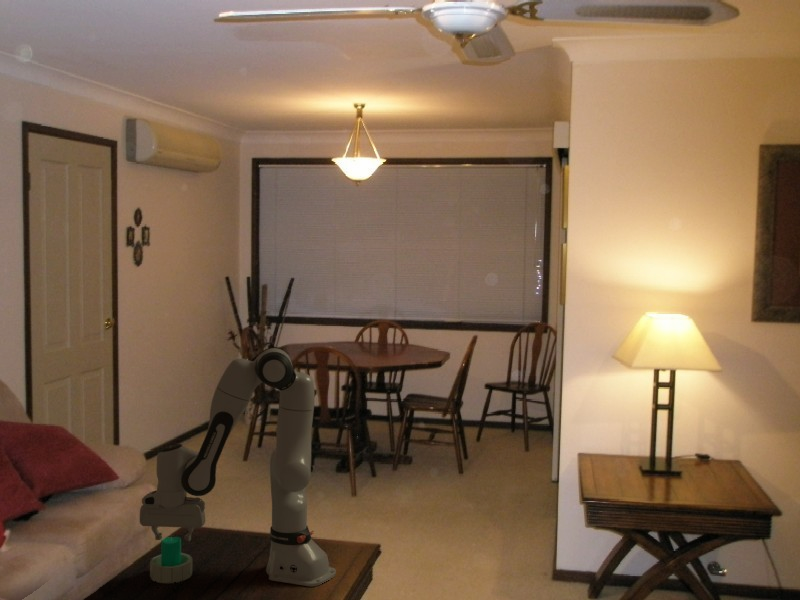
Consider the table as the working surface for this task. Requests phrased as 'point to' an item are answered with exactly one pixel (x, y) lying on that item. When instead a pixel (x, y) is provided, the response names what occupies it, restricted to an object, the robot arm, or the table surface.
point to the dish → (171, 570)
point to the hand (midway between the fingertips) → (173, 540)
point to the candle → (171, 551)
